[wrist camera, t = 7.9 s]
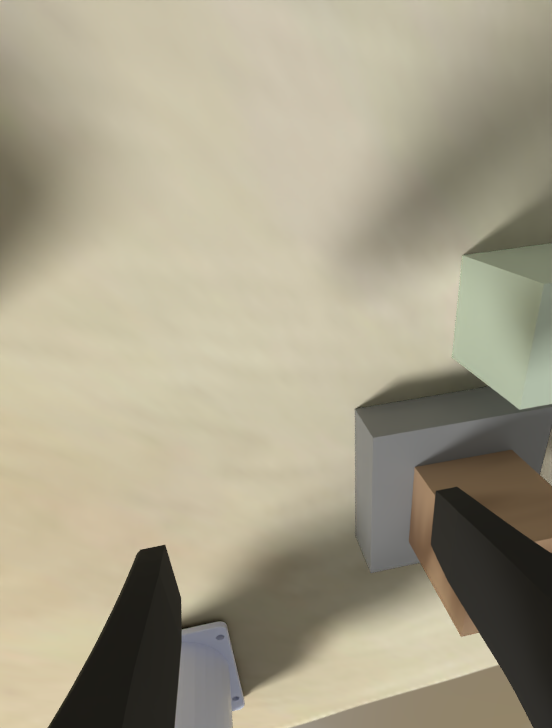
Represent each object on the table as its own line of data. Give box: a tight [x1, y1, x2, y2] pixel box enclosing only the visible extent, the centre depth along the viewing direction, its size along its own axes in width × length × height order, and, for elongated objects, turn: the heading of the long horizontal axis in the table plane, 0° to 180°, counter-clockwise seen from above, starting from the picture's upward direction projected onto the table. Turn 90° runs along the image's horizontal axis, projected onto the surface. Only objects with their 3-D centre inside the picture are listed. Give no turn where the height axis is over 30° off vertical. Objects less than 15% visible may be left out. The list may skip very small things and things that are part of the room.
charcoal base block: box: [355, 386, 552, 573], centre depth 23 cm, size 9×9×3 cm
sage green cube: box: [452, 243, 552, 410], centre depth 18 cm, size 5×5×5 cm
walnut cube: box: [409, 450, 552, 637], centre depth 19 cm, size 5×5×5 cm
